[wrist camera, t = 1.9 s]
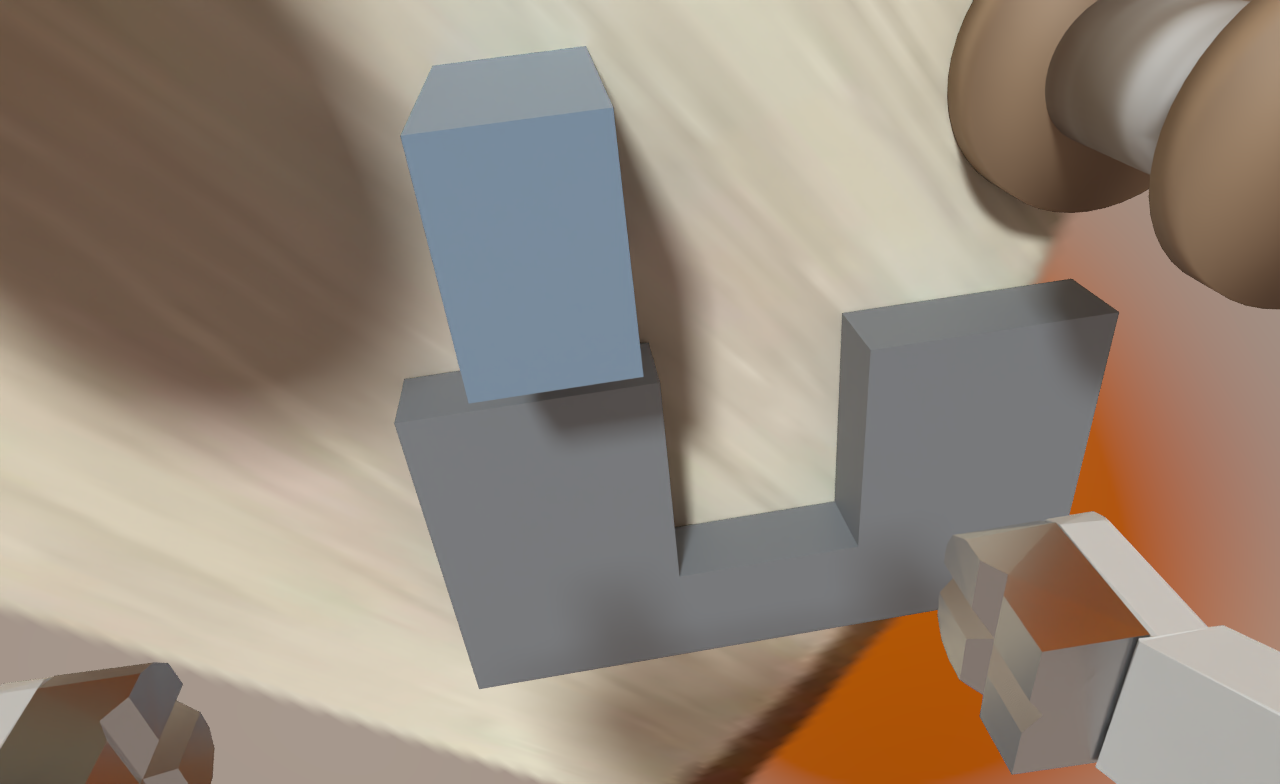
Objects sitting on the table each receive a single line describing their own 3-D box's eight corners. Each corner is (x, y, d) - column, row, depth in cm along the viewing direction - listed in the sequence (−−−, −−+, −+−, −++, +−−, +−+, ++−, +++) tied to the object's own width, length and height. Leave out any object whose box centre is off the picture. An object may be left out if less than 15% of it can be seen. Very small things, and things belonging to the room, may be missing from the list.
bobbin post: (934, 213, 25) (1117, 356, 17) (964, -88, 21) (1226, -74, 13) (1181, 177, 25) (1464, 301, 18) (1261, -125, 21) (1680, -131, 13)
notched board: (481, 636, 32) (479, 689, 30) (404, 379, 26) (394, 423, 23) (1016, 545, 33) (1050, 590, 31) (1071, 278, 27) (1119, 311, 25)
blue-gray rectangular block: (479, 277, 24) (468, 403, 18) (432, 65, 21) (400, 135, 15) (612, 258, 24) (643, 377, 19) (586, 45, 21) (613, 107, 15)
